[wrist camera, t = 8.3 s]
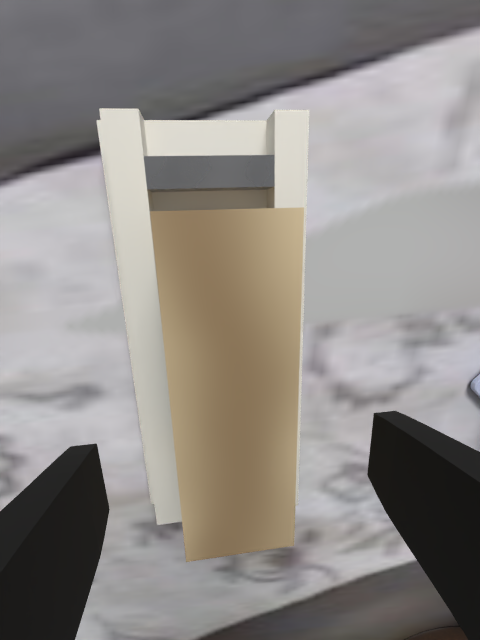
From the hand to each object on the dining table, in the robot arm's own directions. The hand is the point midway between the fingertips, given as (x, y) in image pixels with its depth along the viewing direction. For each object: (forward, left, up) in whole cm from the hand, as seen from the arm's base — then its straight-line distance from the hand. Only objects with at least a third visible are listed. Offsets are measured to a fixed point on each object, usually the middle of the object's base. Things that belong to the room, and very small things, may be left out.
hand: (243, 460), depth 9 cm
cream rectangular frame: (0, 0, -10) cm, 10 cm away
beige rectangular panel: (0, 0, -9) cm, 9 cm away
